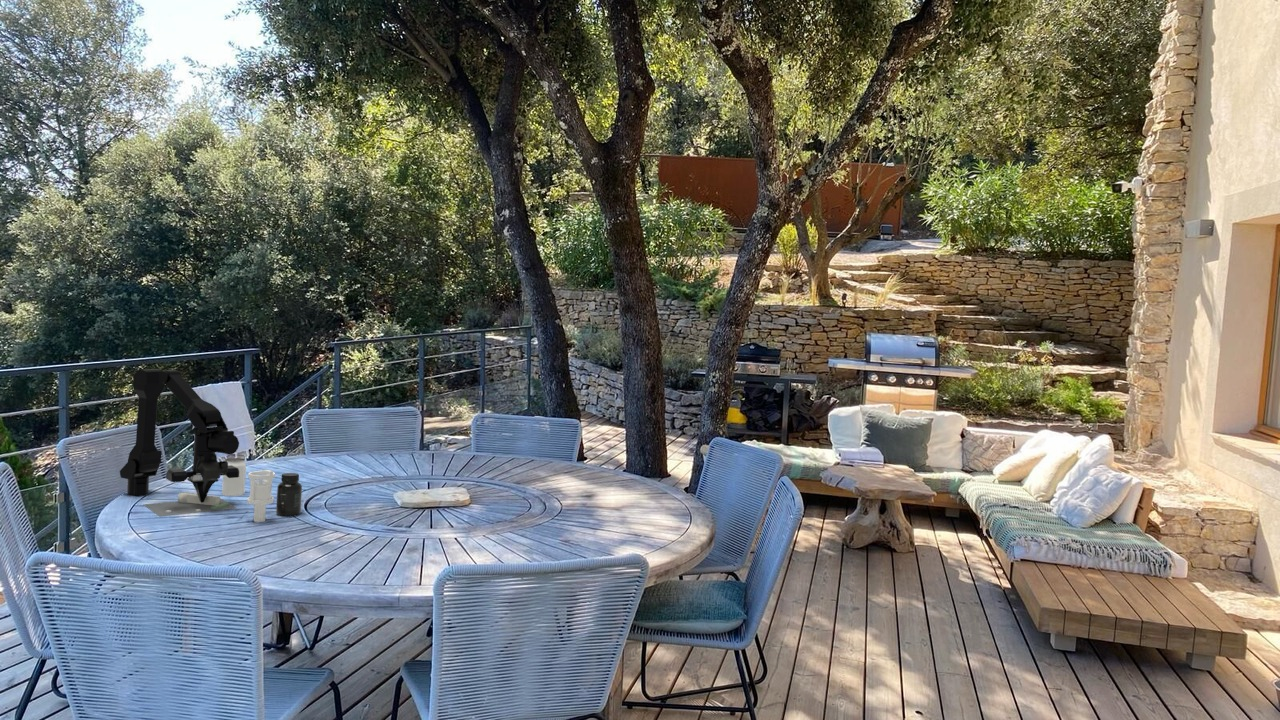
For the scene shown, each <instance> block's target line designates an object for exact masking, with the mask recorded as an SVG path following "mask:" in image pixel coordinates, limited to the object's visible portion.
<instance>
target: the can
mask: <svg viewBox="0 0 1280 720" xmlns="http://www.w3.org/2000/svg"><path fill="white" fill-rule="evenodd" d="M224 461H227V463H228V466H231V465H232V466H234V467H236V468H238V469H239V477H237V478H228V477H227V476H226V475H222V486H221V487H222V489H221V491H222V492H221V494H222V496H226V497H239V496H244V495H245V489H246V474H247V473H246V470H247V467H246V466H247V465H246V464H247V463H246V461H245V458H241V457H229V458H225V459H224Z"/></svg>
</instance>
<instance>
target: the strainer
mask: <svg viewBox="0 0 1280 720" xmlns="http://www.w3.org/2000/svg"><path fill="white" fill-rule="evenodd" d="M247 474H248V475H247V477H248V479H249V480H250V481H249V483H250V487H249V489H250V491H249V496H248V497H247V498H246V504H250V505H253V506H254V508H253V522H255V523H264V522H265V521H266V513H267V512H266V511H267V509H266V508H267V505H268V504H269V505H270V504H273V503H274V501H275V498H274V496H272V485H273V482H274V481H273V479H275V478H276V473H275V472H274V471H273V470H268V469H263V470H257V471H250V472H248V473H247Z"/></svg>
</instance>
